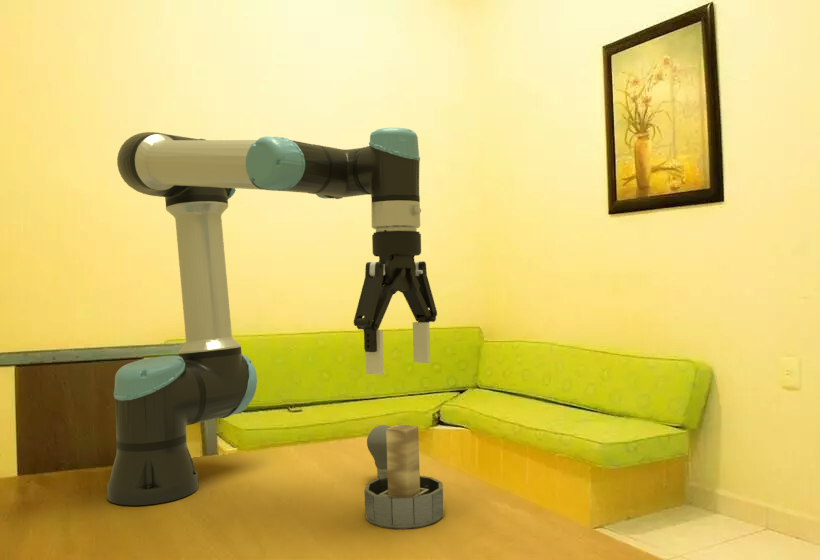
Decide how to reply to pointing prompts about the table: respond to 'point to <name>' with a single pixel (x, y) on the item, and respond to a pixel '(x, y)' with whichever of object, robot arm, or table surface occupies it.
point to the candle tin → (404, 505)
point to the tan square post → (403, 460)
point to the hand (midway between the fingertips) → (399, 368)
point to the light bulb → (379, 449)
